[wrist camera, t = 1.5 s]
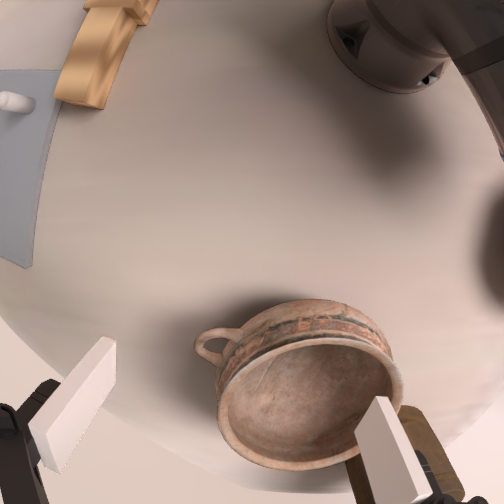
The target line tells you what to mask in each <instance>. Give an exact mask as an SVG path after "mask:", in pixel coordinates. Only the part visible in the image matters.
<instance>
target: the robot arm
mask: <svg viewBox="0 0 504 504" xmlns="http://www.w3.org/2000/svg"><path fill="white" fill-rule="evenodd" d="M327 31H328V35H329V39H330V41H331V44H332V46H333V48H334V50H335V51H336V53H337V55H338V56H339V57H340V59H341V60H342V61H343V62H344V64H345V65H346V66H347V67H348V68H349V69H350V70H351V71H352V72H354V73H355V74H356V75H357V76H359V77H360V78H361V79H363V80H364V81H366V82H368V83H369V84H371V85H373V86H375V87H377V88H380V89H382V90H385V91H389V92H393V93H414V92H417V91H420V90H422V89H424V88H426V87H428V86H430V85H432V84H434V83H435V82H436V81H437V80H438V79H439V78H440V77H441V76H442V74H443V73H444V71H445V69H446V68H447V66H448V64H449V63H450V61H451V60H452V61H453V62H454V64H455V65H456V67H457V68H458V70H459V72H460V73H461V75H462V77H463V79H464V80H465V82H466V84H467V85H468V87H469V89H470V90H471V92H472V94H473V96H474V97H475V99H476V101H477V103H478V105H479V107H480V108H481V110H482V112H483V114H484V116H485V118H486V120H487V122H488V124H489V126H490V129H491V131H492V133H493V135H494V137H495V140H496V142H497V144H498V147H499V152H500V155H501V158H502V160H503V162H504V0H334V2H333V4H332V6H331V8H330V10H329V13H328V17H327ZM115 383H116V341H115V340H113V339H110V338H107V337H104V336H102V337H101V338H100V339H99V340H98V341H97V343H96V344H95V345H94V346H93V347H92V348H91V349H90V350H89V352H88V353H87V354H86V355H85V356H84V357H83V358H82V360H81V361H80V362H79V363H78V364H77V365H76V367H75V368H74V369H73V370H72V371H71V372H70V374H69V375H68V376H67V377H66V378H65V379H64V381H63V382H62V383H60V382H57V381H55V380H53V379H49V380H47V381H45V382H43V383H41V384H40V385H39V386H38V387H37V389H36V390H35V392H33V393H32V394H31V395H30V397H28V399H27V400H26V401H25V402H24V403H23V404H22V405H21V407H20V408H19V409H18V410H17V411H15V410H14V409H13V408H12V407H11V406H9V405H7V404H3V403H0V489H1V493H2V497H3V501H4V504H49V502H48V499H47V496H46V493H45V490H44V487H43V483H42V480H41V477H40V473H39V469H38V466H37V464H38V462H39V460H40V459H41V460H42V462H43V465H44V466H45V467H47V468H49V469H51V470H53V471H54V472H56V473H58V474H60V473H61V472H62V470H63V468H64V467H65V464H66V463H67V461H68V459H69V458H70V456H71V454H72V453H73V451H74V450H75V448H76V446H77V444H78V443H79V441H80V439H81V438H82V436H83V434H84V433H85V431H86V429H87V428H88V426H89V425H90V423H91V421H92V420H93V418H94V416H95V415H96V413H97V411H98V410H99V408H100V407H101V405H102V404H103V402H104V400H105V399H106V397H107V396H108V394H109V392H110V391H111V389H112V388H113V386H114V385H115ZM354 433H355V436H356V439H357V443H358V446H359V449H360V452H361V456H362V459H363V462H364V465H365V469H366V472H367V475H368V479H369V482H370V486H371V489H372V492H373V496H374V499H375V503H376V504H488V502H487V501H486V500H485V499H484V498H483V497H480V496H475V497H473V498H472V499H471V500H470V501H468V502H467V503H465V502H456V500H455V499H454V498H453V497H452V496H450V495H448V494H443V493H442V492H441V489H440V487H439V485H438V483H437V481H436V479H435V476H434V474H433V472H431V471H432V470H431V468H430V466H428V465H429V464H428V462H427V460H426V458H425V456H424V455H423V454H422V453H421V452H420V451H419V450H413V448H412V446H411V443H410V441H409V439H408V437H407V435H406V433H405V431H404V429H403V427H402V425H401V423H400V421H399V419H398V417H397V415H396V413H395V411H394V409H393V407H392V405H391V403H390V401H389V399H388V397H381V396H375V398H374V400H373V401H372V403H371V405H370V407H369V408H368V410H367V412H366V413H365V415H364V417H363V418H362V420H361V421H360V423H359V425H358V426H357V428H356V429H355V431H354Z"/></svg>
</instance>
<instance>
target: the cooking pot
mask: <svg viewBox="0 0 504 504" xmlns="http://www.w3.org/2000/svg"><path fill="white" fill-rule="evenodd" d="M214 338H226V339H229V341H228V343H227V345H226V346H225V348H224V350H223V352H222V354H220V353H215V352H211V351H209V350H207V349H205V348H204V347H203V345H204V344H205V342H206V341H208V340H210V339H214ZM194 350H195V351H196V353H197V354H198V355H200V356H201V357H203V358H204V359H206V360H208V361H209V362H210V363H212V364H213V365H215V366H216V367H217V370H216V379H215V390H216V395H217V401H218V408H217V421H218V426H219V430H220V432H221V434H222V436H223V438H224V440H225V441H226V442H227V444H228V445H229V446H230V447H231V448H232V449H233V450H234V451H235V452H236V453H238V454H239V455H240V456H242V457H243V458H245V459H247V460H249V461H250V462H253V463H255V464H258V465H260V466H263V467H267V468H271V469H276V470H285V471H306V470H315V469H320V468H325V467H329V466H332V465H335V464H338V463H341V462H344V461H346V460H348V459H350V458H352V457H354V456H356V455H358V454H360V453H361V452H360V449H359V446H358V443H357V439H356V436H355V433H354V431H355V429H356V428H357V426H358V425H359V423H360V421H361V420H362V418H363V417H364V415H365V413H366V412H367V410H368V408H369V407H370V405H371V403H372V401H373V400H374V398H375V396H381V397H388V399H389V401H390V403H391V405H392V407H393V409H394V411H395V413H396V415H397V414H398V412H399V410H400V407H401V403H402V399H403V381H402V377H401V374H400V372H399V370H398V368H397V366H396V364H395V363H394V362H393V357H392V353H391V349H390V346H389V344H388V342H387V340H386V338H385V336H384V334H383V333H382V331H381V330H380V329H379V328H378V327H377V325H376V324H375V323H374V322H373V321H372V320H371V319H370V318H369V317H367V316H366V315H364V314H363V313H362V312H360V311H359V310H357V309H354V308H352V307H350V306H348V305H346V304H343V303H339V302H335V301H331V300H321V299H304V300H295V301H290V302H286V303H282V304H279V305H276V306H274V307H272V308H269V309H267V310H264V311H263V312H261V313H260V314H258V315H256V316H255V317H253V318H251V319H250V320H249V321H248V322H246V323H245V324H244V325H243V326H242V327H241V328H239V329H236V328H214V329H210V330H207V331H204V332H202V333H201V334H200V335H199V336H198V337H197V338H196V340H195V342H194Z"/></svg>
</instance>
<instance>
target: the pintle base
mask: <svg viewBox="0 0 504 504" xmlns="http://www.w3.org/2000/svg"><path fill="white" fill-rule="evenodd" d="M61 72H62V71H57V70H0V256H1V257H3V258H5V259H7V260H9V261H11V262H13V263H15V264H17V265H19V266H21V267H23V268H25V269H26V268H28V267H30V266H32V256H33V244H34V233H35V225H36V217H37V209H38V203H39V196H40V190H41V185H42V179H43V174H44V169H45V165H46V160H47V156H48V151H49V147H50V143H51V139H52V136H53V132H54V128H55V125H56V121H57V118H58V114H59V111H60V108H61V105H62V102H63V101H61V100H58V99H55V98H52V97H53V94H54V91H55V88H56V86H57V83H58V80H59V77H60V75H61Z"/></svg>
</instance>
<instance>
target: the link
mask: <svg viewBox="0 0 504 504" xmlns="http://www.w3.org/2000/svg"><path fill="white" fill-rule="evenodd" d="M158 2H159V0H87V1H86V3H85V5H84V7H83V9H84V10H85V11H87V12H88V14H87V16H86V18H85V20H84V22H83V24H82V26H81V28H80V30H79V32H78V34H77V36H76V39H75V41H74V43H73V45H72V48H71V50H70V52H69V55H68V57H67V59H66V62H65V64H64V67H63V69H62V72H61V75H60V77H59V80H58V83H57V86H56V88H55V91H54V94H53V97H52V98H55V99H58V100H61V101H64V102H67V103H70V104H73V105H78V106H85V107H91V108H97V109H103V110H104V107H105V104H106V101H107V98H108V95H109V92H110V89H111V87H112V84H113V81H114V79H115V76H116V73H117V71H118V68H119V66H120V63H121V61H122V59H123V56H124V54H125V51H126V49H127V47H128V45H129V42H130V40H131V38H132V36H133V34H134V31H135V29H136V27H137V25H145V26H146V25H147V23H148V21H149V19H150V17H151V15H152V13H153V11H154V9H155V7H156V6H157V4H158Z"/></svg>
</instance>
